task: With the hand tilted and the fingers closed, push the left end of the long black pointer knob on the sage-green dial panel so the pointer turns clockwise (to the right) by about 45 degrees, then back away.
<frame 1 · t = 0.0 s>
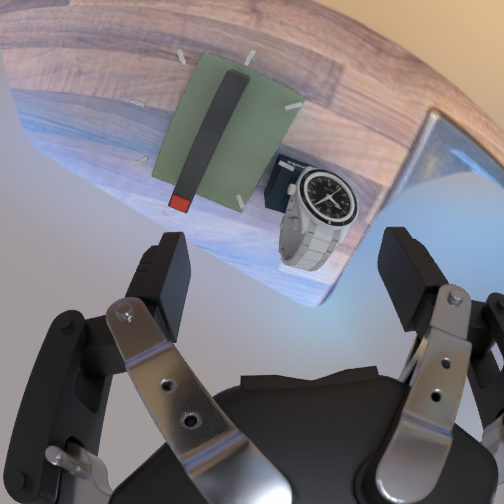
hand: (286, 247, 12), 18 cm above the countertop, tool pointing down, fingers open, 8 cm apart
dial panel: (226, 128, 26), on the countertop
pointer: (208, 138, 21), point 5 cm above the countertop, hinge at 0.0°
watch: (297, 180, 29), on the countertop
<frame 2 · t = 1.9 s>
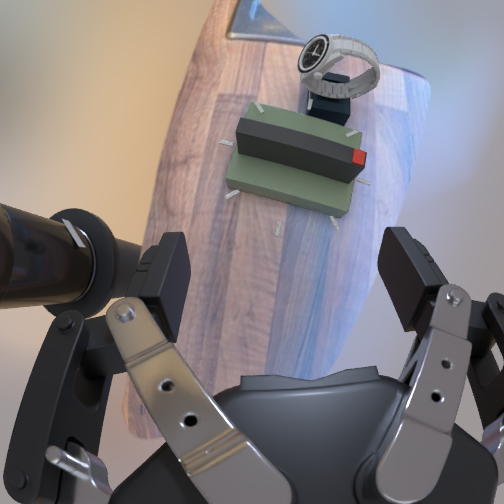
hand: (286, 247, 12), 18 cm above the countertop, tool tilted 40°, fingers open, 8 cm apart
dial panel: (294, 163, 31), on the countertop
pointer: (299, 150, 25), point 5 cm above the countertop, hinge at 0.0°
watch: (324, 106, 31), on the countertop
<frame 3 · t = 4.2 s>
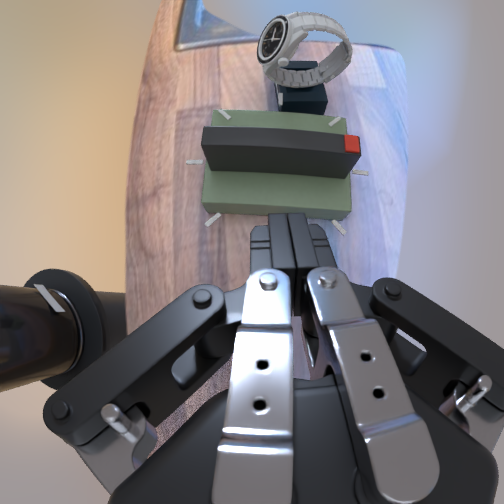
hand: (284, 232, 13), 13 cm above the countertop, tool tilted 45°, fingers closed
dial panel: (277, 169, 27), on the countertop
pointer: (280, 151, 21), point 5 cm above the countertop, hinge at 0.0°
watch: (296, 99, 28), on the countertop
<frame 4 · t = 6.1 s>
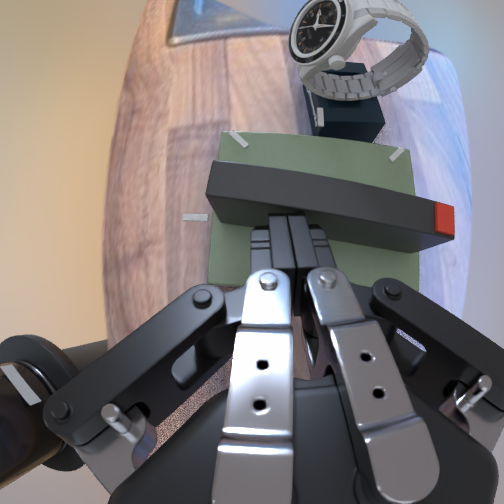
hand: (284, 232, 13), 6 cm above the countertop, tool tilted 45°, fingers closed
dial panel: (313, 220, 19), on the countertop
pointer: (333, 212, 14), point 5 cm above the countertop, hinge at -6.1°, touching gripper
watch: (334, 115, 20), on the countertop
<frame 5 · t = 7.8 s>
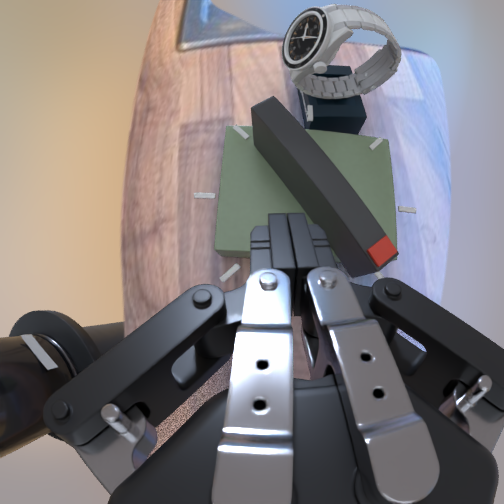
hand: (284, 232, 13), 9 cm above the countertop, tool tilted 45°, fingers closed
dial panel: (305, 200, 22), on the countertop
pointer: (317, 188, 17), point 5 cm above the countertop, hinge at -52.5°
watch: (324, 112, 23), on the countertop
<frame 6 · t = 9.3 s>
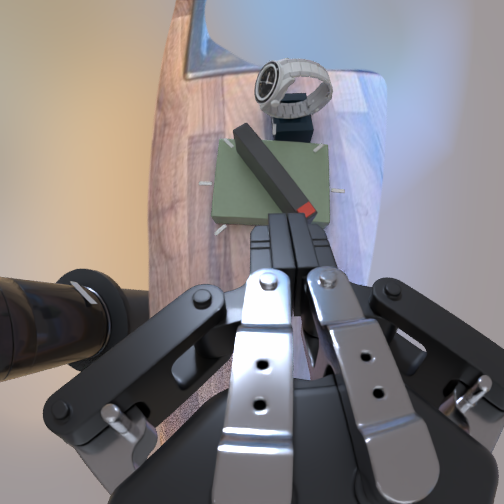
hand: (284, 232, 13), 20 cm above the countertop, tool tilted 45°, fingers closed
dial panel: (271, 187, 33), on the countertop
pointer: (272, 177, 28), point 5 cm above the countertop, hinge at -52.5°
watch: (288, 126, 35), on the countertop
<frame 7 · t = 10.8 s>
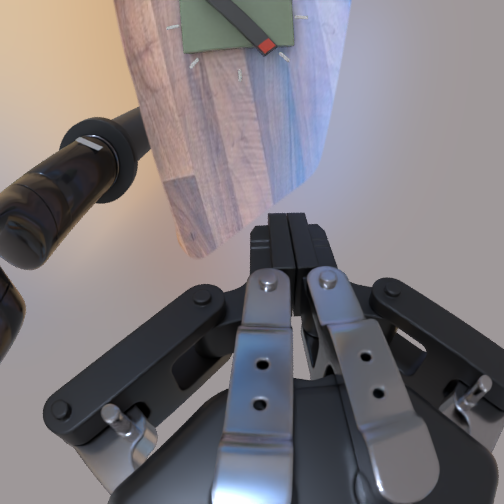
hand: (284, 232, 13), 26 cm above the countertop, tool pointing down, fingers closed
dial panel: (237, 15, 26), on the countertop
pointer: (234, 15, 22), point 5 cm above the countertop, hinge at -52.5°
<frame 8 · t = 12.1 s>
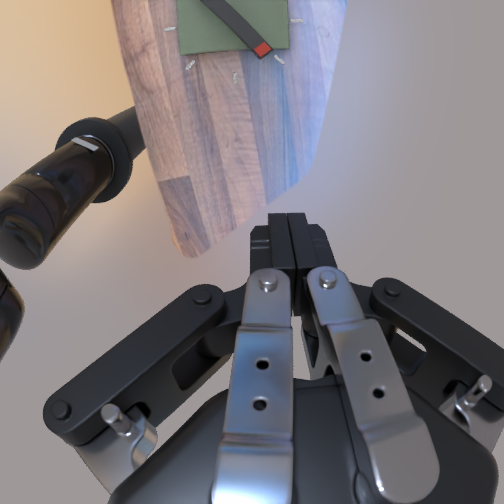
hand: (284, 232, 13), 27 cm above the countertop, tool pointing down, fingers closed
dial panel: (233, 17, 27), on the countertop
pointer: (230, 18, 23), point 5 cm above the countertop, hinge at -52.5°
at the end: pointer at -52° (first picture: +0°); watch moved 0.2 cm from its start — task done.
